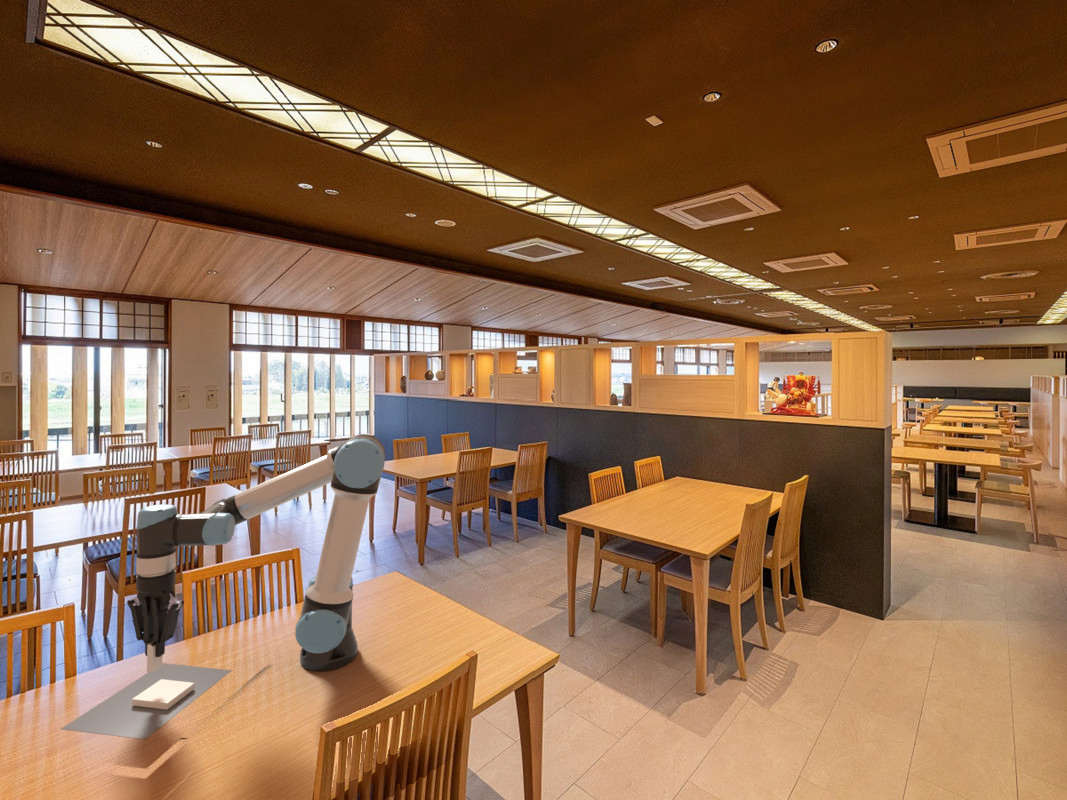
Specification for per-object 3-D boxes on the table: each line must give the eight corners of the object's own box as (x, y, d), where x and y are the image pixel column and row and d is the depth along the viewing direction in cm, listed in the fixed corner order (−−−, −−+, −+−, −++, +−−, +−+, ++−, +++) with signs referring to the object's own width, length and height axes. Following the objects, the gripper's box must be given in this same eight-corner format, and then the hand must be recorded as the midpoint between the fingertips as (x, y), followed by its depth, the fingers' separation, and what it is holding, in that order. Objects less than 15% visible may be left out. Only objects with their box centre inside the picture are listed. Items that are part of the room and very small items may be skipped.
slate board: (231, 674, 132) (231, 670, 132) (144, 744, 106) (144, 739, 106) (162, 667, 134) (162, 662, 134) (60, 734, 109) (60, 728, 109)
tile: (161, 685, 125) (194, 689, 124) (131, 706, 117) (167, 710, 116) (161, 679, 124) (194, 682, 123) (132, 699, 117) (167, 703, 116)
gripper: (193, 567, 122) (192, 663, 123) (145, 563, 124) (143, 657, 125) (168, 579, 115) (166, 680, 116) (116, 574, 116) (115, 675, 117)
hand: (154, 668), depth 120 cm, fingers closed
